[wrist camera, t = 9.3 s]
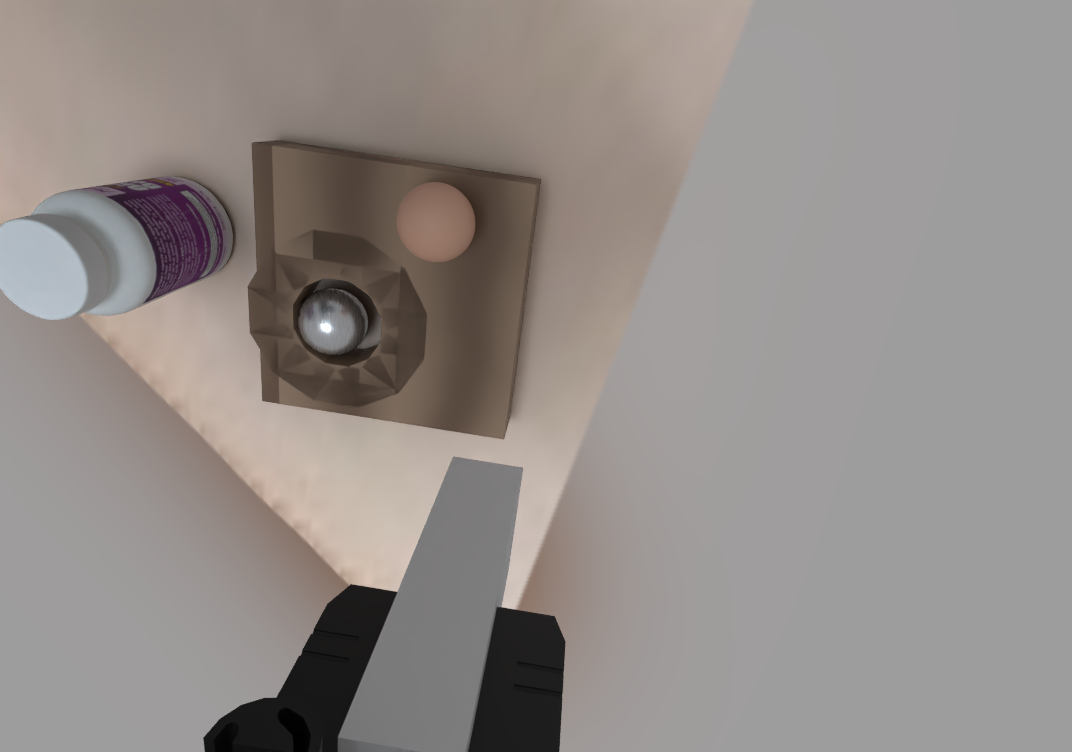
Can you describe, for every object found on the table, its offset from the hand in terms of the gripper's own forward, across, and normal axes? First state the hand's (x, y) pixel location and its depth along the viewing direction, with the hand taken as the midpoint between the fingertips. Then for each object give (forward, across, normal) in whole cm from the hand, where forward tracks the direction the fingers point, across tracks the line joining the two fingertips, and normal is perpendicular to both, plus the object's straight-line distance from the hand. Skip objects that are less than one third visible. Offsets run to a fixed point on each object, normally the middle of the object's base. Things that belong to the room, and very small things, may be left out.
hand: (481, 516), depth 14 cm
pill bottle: (+21, -19, 0) cm, 28 cm away
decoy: (+16, -5, +3) cm, 17 cm away
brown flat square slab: (+20, -8, -2) cm, 22 cm away
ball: (+19, -10, -3) cm, 22 cm away
